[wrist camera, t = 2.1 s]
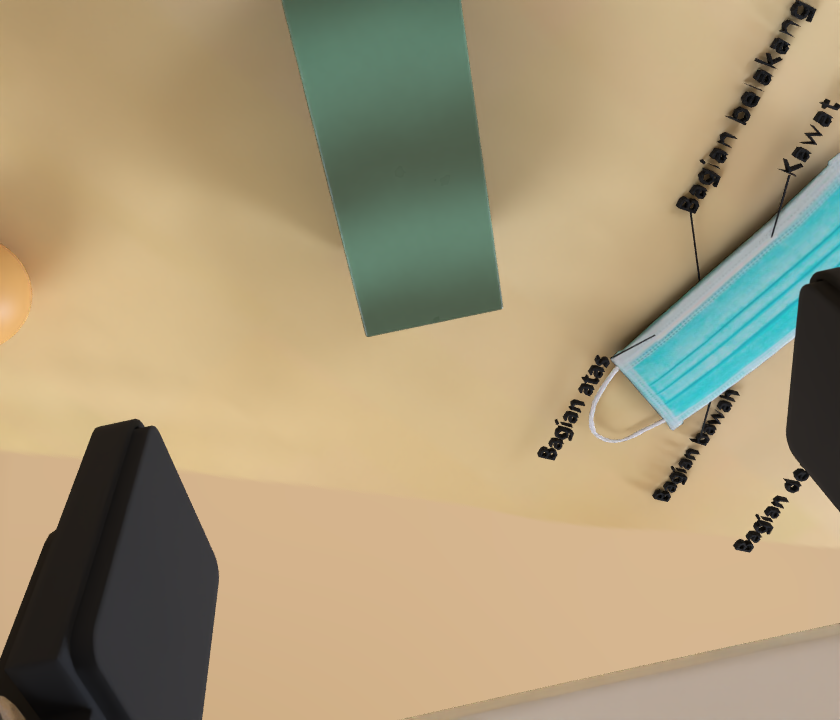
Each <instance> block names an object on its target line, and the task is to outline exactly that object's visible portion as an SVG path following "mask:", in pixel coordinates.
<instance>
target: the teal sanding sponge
mask: <svg viewBox="0 0 840 720" xmlns="http://www.w3.org/2000/svg"><path fill="white" fill-rule="evenodd" d="M281 1H282V5H283V9H284V13H285V17H286V21H287V25H288V29H289V33H290V37H291V41H292V45H293V49H294V53H295V57H296V61H297V65H298V69H299V72H300V76H301V80H302V84H303V88H304V92H305V96H306V100H307V104H308V108H309V112H310V116H311V120H312V124H313V128H314V132H315V136H316V140H317V144H318V148H319V152H320V156H321V160H322V164H323V168H324V172H325V176H326V180H327V184H328V188H329V192H330V196H331V200H332V204H333V208H334V212H335V216H336V219H337V223H338V227H339V231H340V235H341V239H342V243H343V247H344V251H345V255H346V259H347V263H348V267H349V271H350V275H351V279H352V283H353V287H354V291H355V295H356V299H357V303H358V307H359V311H360V315H361V319H362V323H363V327H364V331H365V335H366V336H367V337H370V336H375V335H380V334H385V333H390V332H394V331H399V330H404V329H409V328H414V327H419V326H423V325H428V324H433V323H438V322H443V321H448V320H452V319H457V318H462V317H467V316H472V315H477V314H481V313H486V312H491V311H496V310H501V309H503V303H502V296H501V288H500V281H499V274H498V267H497V259H496V252H495V245H494V237H493V230H492V223H491V216H490V208H489V201H488V194H487V187H486V179H485V172H484V165H483V158H482V150H481V143H480V136H479V128H478V121H477V114H476V107H475V99H474V92H473V85H472V78H471V70H470V63H469V56H468V49H467V41H466V34H465V27H464V19H463V12H462V5H461V0H281Z"/></svg>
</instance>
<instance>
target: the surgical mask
mask: <svg viewBox="0 0 840 720" xmlns="http://www.w3.org/2000/svg"><path fill="white" fill-rule="evenodd" d="M802 5H803V7H804V11H803V12H802V13H801V14H800V15H799V14H797V9H798V6H802ZM790 11H791V15H792V16H794V17H796V18H798V19H801V20H802V19H804V18H806V17H807V16H808V17H807V19H806V21H808V22H811V21H812V19H813V16H814V14H815V11H816V9H815V8H813V7H811V6H810V5H808V4H806V3H803V2H801V1H799V0H796V3H794V4H793V6H792V7H791V9H790ZM789 24H792V25H796V26H799V25H798V24H796V23H794V22H793V21H790V20H786V21H784V22H783V23H782V30H779V31H780V32H783V33H785V34H788V35H790V36H792V35H791V34H789V33H788V32H787V27H788V25H789ZM800 27H801V26H800ZM792 37H793V36H792ZM788 45H790V44H789V43H787V42H786V41H784V40H782V39H780V38H775V39H774V41H773V42H772V44H771V46H770V47H771V48H773V49H775V50H776V52H778V53H779V54H786V52H787V51H788V50H789V47H788ZM782 47H783V49H782ZM766 55H767V62H768V63H766V62H764V61H762V60H759V59H757V58H756V59H755V60H754V61H756V62H759V63H761V64H764V65H767V66H770V67H772V68H775V67H774V66H773V64H775V63H777V62H779V61H781V60H783V59H781V58H780V57H778V58H775V59H772V57H771V54H770V53H766ZM775 69H776V68H775ZM766 75H767V76H766ZM771 76H772V75H771V74H770V73H768V72H766V71H764V70H757V72H756V73H755V75H754V76H753V78H754V79H755V80H757V81H758V80H759V81H758V82H759V83H761V84H763V85H764V86H765V85H768V84H769V83H770V81H771ZM765 77H766V78H765ZM744 84H745V83H744ZM746 85H748V84H746ZM749 86H751V85H749ZM751 87H753V86H751ZM753 88H756V87H753ZM756 89H758V90H760V91H762V90H761V89H759V88H756ZM763 92H764V91H763ZM741 100H742V104H744V105H745V106H748V107H751V108H752V107H755V106H757V104H758V102H759V100H760V97H758V96H757V95H756V94H755V93H753V92H745V93H744V95H743V96H742V97H741ZM819 103H821V104H822V107H821V108H823V109H825V108H827V107H828V108H831V109H834V110H838V109H839V108H840V105H839V104H837V103H836V104H835V105H834V106H832V105H829V103H830V100H828V99H825V100H824V102H819ZM742 111H743V112H745V115H744V118H742V119H740V120H739V119H737V117H738V114H739V113H740V112H742ZM732 115H733V117H729V116H726V117H728V118H730V119H733V120H735V121H737V122H739V123H741V124H743V125H746V123H745V122H746V121H748V120H749V118H750V116H751V115H750V113H749V111H748V110H747V109H744V108H742V107H738V108H736V109H734V112H733V114H732ZM831 118H833V117H831V116H830V115H828V114H827V113H825V112H823V111H818V112H817V114H816V115H815V117H814V118H813V120H814V121H816V122H818V123H819V124H821V125H822V126H823V127H828V126H829V125H830V123H831V122H832V121H831ZM811 126H812V127H813V129H814V130H815V131H816V133H805V134H806V136H807V137H808V138H809V139H810V140H811V141H809V142H800V143H803V144H814V145H817V144H816V142H815V141H814V140H813V138H812V137H811V136H823V135H822V134H821V133H820V132H819V131H818V130H817V129H816V128H815V127H814V126H813V125H811ZM726 137H731V138H735V139H737V138H736V137H735V136H733V135H731V134H728V133H726V132H724V133H722V134H721V135H720V141H717V142H719V143H721V144H723V145H725V146H728V147H730V146H729V145H727V144H726V143H724V139H725V138H726ZM730 148H731V147H730ZM809 154H812V153H810V152H809V151H808V150H806V149H804V148H802V147H796V149H795V150H794V152H793V153H792V155H793V156H794V157H795V158H797V159H799V160H801V161H803V162H806V161H807V160H808V158H809V157H810V156H809ZM721 155H722V157H721ZM726 155H728V154H727V153H726V152H725V151H723V150H721V149H719V148H714V149H713V151H712V152H711V154H710V155H709V156H710V157H711V158H712V159H715V160H716V161H717V162H718V163H724V162H725V160H726V159H727V157H726ZM720 157H721V158H720ZM783 160H784V164H785V169H786V170H783V169H779V170H782V171H784V172H786V173H789V174H791V175H793V176H796V175H795V174H793V173H791V172H792V171H794V170H797V169H799V168H801V167H804V166H803V165H802V164H801V163H800V164H797V165H794V166H791V167H790V166H789V163H788V161H787V159H784V158H783ZM700 162H701V163H703V164H705V161H704V160H703V159H701V160H700ZM708 164H709V163H708ZM710 165H712V164H710ZM712 166H714V167H717V168H719V167H718V166H716V165H712ZM719 169H720V168H719ZM706 174H710V178H709V179H707V180H703V178H704V175H706ZM791 175H788V178H787V182H786V185H785V189H784V192H783V196H782V199H781V203H780V207H779V210H778V213H776V214H775V215H774V216H773V217H772V218H771V219H770V220H769V221H768V222H767V223H766V224H764V225H763V226H762V227H761V228H760V229H759V230H758V231H757V232H755V233H754V234H753V235H752V236H751V237H750V238H749V239H748V240H746V241H745V242H744V243H743V244H741V245H740V246H739V247H738V248H737V249H736V250H735V251H733V252H732V253H731V254H730V255H729V256H728V257H727V258H725V259H724V260H723V261H722V262H721V263H720V264H719V265H718V266H717V267H715V268H714V269H713V270H712V271H711V272H709V273H708V274H707V275H706V276H705V277H704V278H702V279H701V280H700V274H699V266H698V259H697V251H696V243H695V235H694V228H693V220H692V213H694V214H695V213H696V211H697V209H698V208H699V203H698V201H697V200H696V199H688V198H686V197H684V196H683V197H681V198H680V199H679V201H678V202H677V204H676V206H677V207H678V208H680V209H683V210H685V211H688V212H690V217H691V225H692V232H693V240H694V248H695V255H696V263H697V271H698V278H699V282H698V283H697V284H696V285H695V286H694V287H692V288H691V289H690V290H689V291H688V292H687V293H686V294H684V295H683V296H682V297H681V298H680V299H679V300H678V301H677V302H676V303H674V304H673V305H672V306H671V307H670V308H669V309H668V310H667V311H666V312H664V313H663V314H662V315H661V316H660V317H658V318H657V319H656V320H655V321H654V322H653V323H652V324H651V325H650V326H648V327H647V328H646V329H645V330H644V331H643V332H642V333H641V334H640V335H639V336H638V337H636V338H635V339H634V340H633V341H632V342H631V343H630V344H629V345H628V346H627V347H625V348H624V349H623V350H621V351H618V352H617V353H616V354H615V355H614V356H613V357H611V361H612V362H613V363H614V364H615V365H616V366H615V367H614V368H613V370H612V371H611V372H610V374H609V375H608V377H607V378H606V379H605V381H604V382H603V383H602V385H601V386H600V388H599V390H598V392H597V393H596V395H595V397H594V399H593V401H592V406H591V410H590V413H589V428H590V430H591V432H592V433H593V434H594V435H595V436H596V437H597V438H599V439H601V440H603V441H605V442H613V443H616V442H622V441H626V440H629V439H632V438H634V437H636V436H638V435H640V434H642V433H644V432H645V431H647V430H649V429H651V428H653V427H656V426H658V425H660V424H662V423H664V422H667V424H668V426H669V428H670V429H671V430H674V429H676V428H677V427H678V426H680V425H681V424H683V420H685V419H686V418H688V417H689V416H691V415H692V414H694V413H695V412H697V411H698V410H700V409H701V408H703V407H704V406H706V405H707V404H708V403H709V405H708V408H707V412H706V415H705V419H704V423H703V426H702V430H701V433H699V434H697V436H696V439H690V438H689V439H690V440H691V441H692V442H695V443H698V444H701V445H704V446H706V445H707V443H708V442H709V440H710V439H709V437H708V435H707V434H709V435H713V434H714V433H715V430H717V429H716V427H715V426H714V425H711V424H721V423H720V421H719V420H718V419H717V418H725V417H724V415H723V414H722V413H720V412H718V411H717V410H716V411H717V412H718V413H719V414H713V415H711V416H712V417H713V418H714V419H715V420H709V421H707V422H708V423H709V424H705V422H706V418H707V415H708V411H709V408H710V404H711V401H712V400H714V399H715V398H716V397H718V396H720V397H721V398H724V399H727V400H730V401H734V402H735V400H734V399H733V398H731V397H729V396H730V395H731V394H733V395H739V393H738V392H737V391H734V390H730V389H729V390H727V389H728V388H730V387H731V386H733V385H734V384H735V383H737V382H738V381H739V380H741V379H742V378H743V377H744V376H745V375H747V374H749V373H750V372H751V371H753V370H754V369H756V368H757V367H758V366H759V365H761V364H762V363H763V362H764V361H766V360H767V359H768V358H770V357H771V356H772V355H773V354H775V353H776V352H777V351H779V350H780V349H781V348H782V347H784V346H785V345H786V344H787V343H788V342H790V341H791V340H792V339H794V338H795V331H796V321H797V310H798V300H799V293H800V290H801V288H802V286H804V285H805V284H809V282H810V279H811V277H812V275H813V274H814V273H816V272H818V271H822V270H827V269H832V268H836V267H840V153H838V154H837V155H836V156H834V157H833V158H832V159H831V160H829V161H828V166H826V167H825V168H824V169H823V170H822V171H821V172H820V173H819V174H818V175H817V176H816V177H815V178H813V179H812V180H811V181H810V182H809V183H808V185H807V186H805V187H804V188H803V189H802V190H801V191H800V192H799V193H798V194H797V195H795V196H794V197H793V198H792V199H791V200H790V201H789V202H788V203H787V204H786V205H785V206H784V207H783V208H782V210H781V207H782V203H783V200H784V196H785V193H786V189H787V186H788V182H789V179H790V176H791ZM714 176H715V178H714ZM698 177H699V180H700V182H701V183H702V184H705V185H710V184H711V183H712V182H714V183H713V186H714V187H717V185H718V183H719V180H720V178H721V177H720V176H719V175H718V174H716V173H715V172H713V171H710V170H708V169H705V168H703V170H702V171H701V172H700V173H699V174H698ZM796 177H797V176H796ZM701 190H702V193H700V192H701ZM706 191H707V189H706V188H704V187H702V186H700V185H693V187H692V188H691V190H690V191H689V192H690V193H691V194H692V195H694V194H695V196H696V197H697V198H698V199H703V198H704V197H705V196H706ZM684 202H686V203H685V205H684V206H683V203H684ZM692 203H694V205H693V207H692V208H690V206H691V205H692ZM780 210H781V211H780ZM594 360H595V362H596V364H597V365H598V366H597V365H592V366H591V367H590V369H589V370H588V372H589V374H590V375H592V373H593V371H594V373H593V374H594V376H595V377H596V378H595V379H591V378H589V377H588V375H586V376H585V377H581V378H582V379H583V380H584V382H585V383H582V384H581V385H580V387H579V388H578V390H579V392H580V393H582V392H584V394H586V395H588V396H590V395H591V394H592V393H593V391H592V390H594V387H593V386H592V385H589V384H586V383H587V382H588V383H592V384H597V383H598V382H599V379H598V378H601V377H602V375H603V373H602V372H605V371H604V369H603V368H602V367H600V366H601V365H602V364H603V365H604V366H605V367H606V368H607V366H608V365H609V364H610V363H609V360H608V358H607V357H606V356H605V357H602V358H601V359H600V357H599V355H597V356H596V357H595V359H594ZM618 370H620V371H621V372H622V373H623V374H624V375H625V376H626V377H627V378H628V379H629V380H630V381H631V383H632V384H633V385H634V386H635V387H636V388H637V390H638V391H639V392H640V393H641V394H642V395H643V397H644V398H645V399H646V400H647V401H648V402H649V403H650V405H651V406H652V407H653V408H654V409H655V410H656V411H657V413H658V414H659V415H660V416H661V417H662V418H663V419H661V420H659V421H657V422H655V423H653V424H652V425H649V426H647V427H645V428H643V429H641V430H639V431H637V432H635V433H633V434H632V435H630V436H628V437H626V438H623V439H618V440H612V439H608V438H605V437H603V436H601V435H599V434H598V433H596V431H595V426H594V422H593V417H594V413H595V407H596V404H597V402H598V400H599V399H600V397H601V395H602V393H603V391H604V390H605V388H606V386H607V385H608V383H609V382H610V381H611V379H612V378H613V376H614V375H615V374H616V372H617V371H618ZM598 371H599V372H598ZM583 389H584V391H583ZM588 389H589V390H588ZM726 390H727V391H726ZM724 391H726V392H725V395H720V394H722V393H723V392H724ZM739 396H740V395H739ZM570 403H571V406H568V407H569V408H570V410H574V411H577V412H580V413H581V410H580V409H579V408H576V407H574V406H575V405H581V406H585V404H584V402H582V401H579V400H575V399H574V400H572V401H571V402H570ZM717 407H718V408H719V410H721V408H722V410H723V411H724V412H729V411H730V410H731V408H730V407H732V405H731V403H730V402H727V401H724V400H722V401H720V402H719V403H718V405H717ZM568 416H569V417H568ZM572 417H573V418H572ZM563 418H564V420H565V421H567V418H568V420H569V422H570V423H574V424H575V423H576V421H577V418H579V417H578V414H577V413H575V412H572V411H566V412H565V414H564V416H563ZM555 423H556V425H558V424H559V422H558V420H557V419H556V420H555ZM560 423H561V424H562V425H565V426H568V427H571V428H573V427H572V424H570V423H565V422H560ZM561 431H563V432H565V433H563V434H559V433H560V432H561ZM703 432H704V433H705V432H707V434H704V433H703ZM568 433H570V435H569V434H568ZM573 434H574V433H573V431H572V430H571V429H569V428H567V427H563V426H559V425H558V428H556V429H555V436H556V437H557V438H551V439H550V441H549V443H548V444H549V446H550V447H552V445H553V446H554V448H555V449H557V450H560V449H561V448H562V444H564V443H563V440H564V439H566V438H568V439H569V441H571V440H572V437H573ZM568 435H569V437H568ZM701 438H705V439H704V440H700V439H701ZM553 443H554V444H553ZM558 443H559V444H558ZM554 448H553V447H552V448H550V449H547V447H544V446H543V447H541V448H540V449H539V451H538V453H537V454H538V456H539V457H541V458H545V459H550V460H555V458H556V456H557V452H556V450H555V449H554ZM544 452H545V453H544ZM551 453H553V454H552V455H551ZM691 453H692V454H699V452H698V450H694V449H691V448H690V449H688V450H686V454H684V455H685V457H686V458H689V459H693V460H695V457H694V456H691V455H690V454H691ZM678 464H679V466H680V467H681V468H682V466H683V467H684V468H685V469H687V470H689V469H690V468H691V467H692V466H691V465H693V463H692V461H691V460H688V459H681V460H680V462H679V463H678ZM800 465H801V464H800ZM801 466H802V465H801ZM671 469H672V470H673V473H671V475H670V476H669V477H670V479H671V481H672V482H666V483H665V484H664V486H663V487H664V489H665V491H663V492H662V491H661V490H660V489H659V490H656V491H655V492H654V494H653V495H652V496H653V498H654V499H657V500H661V501H666V502H668V501H669V499H670V498H671V496H670V493H669V492H668V491H667V489H668V490H669V491H670V492H671V493H673V492H675V491H676V488H678V487H677V485H676V484H678V483H681V482H682V485H684V484H685V482H686V480H687V477H686V475H685V474H683V473H687V472H686V470H685V469H680V468H676V469H677V471H680V472H683V473H680V472H675V469H674V467H673V466H671ZM793 474H794V477H795V479H796V480H797V481H794V480H789V479H784V478H783V479H784V480H785V481H786V483H785V484H784V485H785V488H786V490H787V491H789V492H791V493H795V492H797V491H799V487H800V486H801V484H800V482H799V481H801V482H802V481H806V480H807V479H808V477H809V474H808V473H807V471H804V469H799V468H798V469H797V470H795V471H794V472H793ZM675 477H678V478H676V479H674V478H675ZM682 478H683V479H682ZM792 485H794V486H793V487H791V486H792ZM780 501H781V502H789V501H788V500H787V498H785V497H781V496H776V497H775V498H773V502H771V503H772V504H773V505H774V506H776V507H780V508H783V506H782V504H780V503H779V502H780ZM776 507H773V506H768V507H767V508H766V510H765V511H764V513H765V514H766V516H769V515H770V516H771V518H772V519H774V518H777V517H778V516H779V514H778V513H781V512H780V511H779V509H778V508H776ZM783 509H784V508H783ZM755 516H756V517H757V519H758V521H757V522H755V523H754V525H753V527H754V529H755V530H756V531H749V532H748V533H747V534H746V538H747V539H748V540H745V541H744V540H742V539H739V540H737V541H736V542H735V544H734V545H733V546H734V547H735V549H736V550H740V551H745V552H751V551H752V549H753V548H754V546H753V544H752V543H751V541H750V539H751V540H752V541H753V542H754V543H757V542H759V540H760V538H761V535H760V533H761V534H762V533H764V532H766V533H767V534H770V533H771V531H772V529H773V526H772V525H771V524H770V523H769V522H766V521H770V522H773V521H772V519H771V518H769V517H763V516H761V518H762V519H763V520H766V521H762V520H760V517H759V515H758V514H756V515H755ZM761 526H762V527H761ZM759 527H760V528H759Z"/></svg>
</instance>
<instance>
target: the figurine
mask: <svg viewBox="0 0 840 720" xmlns="http://www.w3.org/2000/svg"><path fill="white" fill-rule="evenodd" d="M31 302H32V289H31V283H30V279H29V277H28V274H27V272H26V270H25V268H24V266H23V265H22V263H21V262H20V261H19V259H18V258H17V257H16V256H15V255H14V254H13V253H12V252H11V251H10V250H9V249H7V248H6V247H5V246H3V245H2V244H0V345H1V344H2V343H4V342H6V341H7V340H9V339H10V338H11V337H12V336H14V335H15V334H16V333H17V332H18V330H19V329H20V328H21V327H22V325H23V324H24V322H25V320H26V318H27V316H28V314H29V311H30V307H31Z"/></svg>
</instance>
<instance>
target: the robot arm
mask: <svg viewBox="0 0 840 720" xmlns="http://www.w3.org/2000/svg"><path fill="white" fill-rule="evenodd" d="M786 437H787V442H788V445H789V448H790V450H791V452H792V454H793V455H794V457H795V458H796V459H797V461H798V462H799V463H800V464H801V465H802V467H803V468H804V469H805V470H806V471H807V473H808V474H809V475H810V476H811V478H812V479H813V480H814V481H815V482H816V484H817V485H818V486H819V487H820V488H821V490H822V491H823V492H824V493H825V495H826V496H827V497H828V498H829V499H830V501H831V502H832V503H833V504H834V506H835V507H836V508H837V509H838V510H839V512H840V267H836V268H832V269H827V270H822V271H818V272H816V273H814V274H813V275H812V277H811V279H810V282H809V284H805V285H804V286H802V288H801V290H800V293H799V300H798V310H797V321H796V331H795V342H794V352H793V363H792V373H791V384H790V395H789V405H788V416H787V426H786ZM218 583H219V571H218V565H217V561H216V558H215V555H214V553H213V550H212V548H211V546H210V544H209V541H208V539H207V537H206V535H205V533H204V530H203V528H202V526H201V524H200V522H199V519H198V517H197V515H196V513H195V510H194V508H193V506H192V504H191V502H190V499H189V497H188V495H187V493H186V490H185V488H184V486H183V484H182V482H181V479H180V477H179V475H178V473H177V471H176V468H175V466H174V464H173V462H172V459H171V457H170V455H169V453H168V451H167V448H166V446H165V444H164V442H163V439H162V437H161V435H160V433H159V431H158V429H157V428H156V427H155V426H148V427H144V425H143V424H142V422H141V421H140V420H138V419H133V420H128V421H123V422H119V423H114V424H109V425H105V426H100V427H97V428H95V430H94V431H93V433H92V436H91V438H90V441H89V444H88V446H87V449H86V452H85V454H84V457H83V460H82V462H81V465H80V468H79V470H78V473H77V476H76V478H75V481H74V484H73V486H72V489H71V492H70V494H69V497H68V500H67V502H66V505H65V508H64V510H63V513H62V516H61V518H60V521H59V524H58V526H57V529H56V530H55V531H54V532H52V533H51V534H50V535H49V536H48V538H47V540H46V541H45V543H44V546H43V549H42V551H41V554H40V556H39V559H38V562H37V565H36V567H35V569H34V572H33V575H32V577H31V580H30V582H29V585H28V588H27V590H26V593H25V595H24V598H23V601H22V603H21V606H20V608H19V611H18V614H17V616H16V619H15V621H14V624H13V627H12V629H11V632H10V634H9V637H8V640H7V642H6V645H5V647H4V650H3V653H2V655H1V658H0V720H202V714H203V706H204V699H205V691H206V682H207V674H208V666H209V658H210V650H211V641H212V633H213V625H214V616H215V607H216V600H217V591H218ZM401 720H840V623H838V624H834V625H829V626H824V627H819V628H814V629H810V630H805V631H800V632H796V633H791V634H786V635H782V636H777V637H772V638H768V639H763V640H759V641H754V642H749V643H744V644H740V645H735V646H731V647H726V648H721V649H717V650H712V651H708V652H703V653H698V654H694V655H689V656H685V657H681V658H676V659H671V660H667V661H662V662H657V663H653V664H648V665H644V666H639V667H635V668H630V669H626V670H621V671H616V672H612V673H608V674H603V675H598V676H594V677H589V678H584V679H580V680H576V681H571V682H567V683H562V684H557V685H553V686H548V687H544V688H540V689H535V690H530V691H526V692H521V693H517V694H512V695H508V696H503V697H498V698H494V699H490V700H486V701H481V702H476V703H472V704H468V705H463V706H458V707H454V708H450V709H445V710H441V711H437V712H432V713H428V714H423V715H419V716H414V717H410V718H405V719H401Z"/></svg>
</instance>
